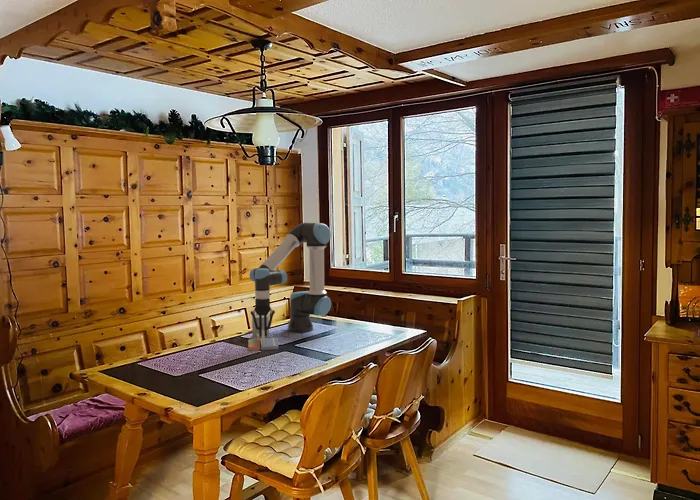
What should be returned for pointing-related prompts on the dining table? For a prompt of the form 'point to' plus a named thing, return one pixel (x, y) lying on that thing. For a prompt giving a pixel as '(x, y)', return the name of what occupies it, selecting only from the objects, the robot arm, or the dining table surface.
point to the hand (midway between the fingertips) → (263, 342)
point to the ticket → (269, 344)
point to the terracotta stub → (254, 345)
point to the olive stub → (253, 339)
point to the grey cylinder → (254, 330)
